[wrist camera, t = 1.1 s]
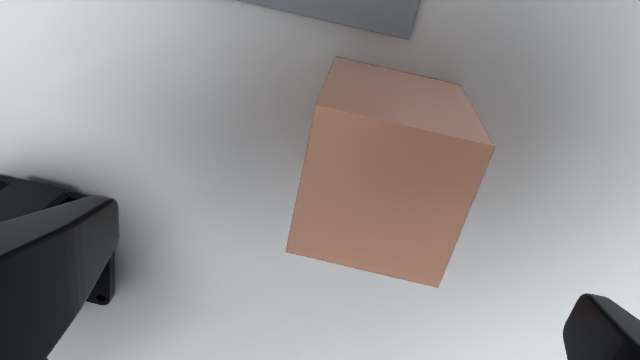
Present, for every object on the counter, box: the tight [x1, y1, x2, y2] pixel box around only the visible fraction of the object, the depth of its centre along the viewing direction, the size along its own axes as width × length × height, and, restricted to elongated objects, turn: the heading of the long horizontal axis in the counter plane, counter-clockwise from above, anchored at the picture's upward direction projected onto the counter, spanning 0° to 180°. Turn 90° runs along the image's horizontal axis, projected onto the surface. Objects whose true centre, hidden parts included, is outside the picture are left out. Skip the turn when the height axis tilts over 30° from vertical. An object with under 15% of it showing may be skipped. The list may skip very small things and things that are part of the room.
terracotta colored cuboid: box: [286, 56, 495, 288], centre depth 18 cm, size 5×5×7 cm
